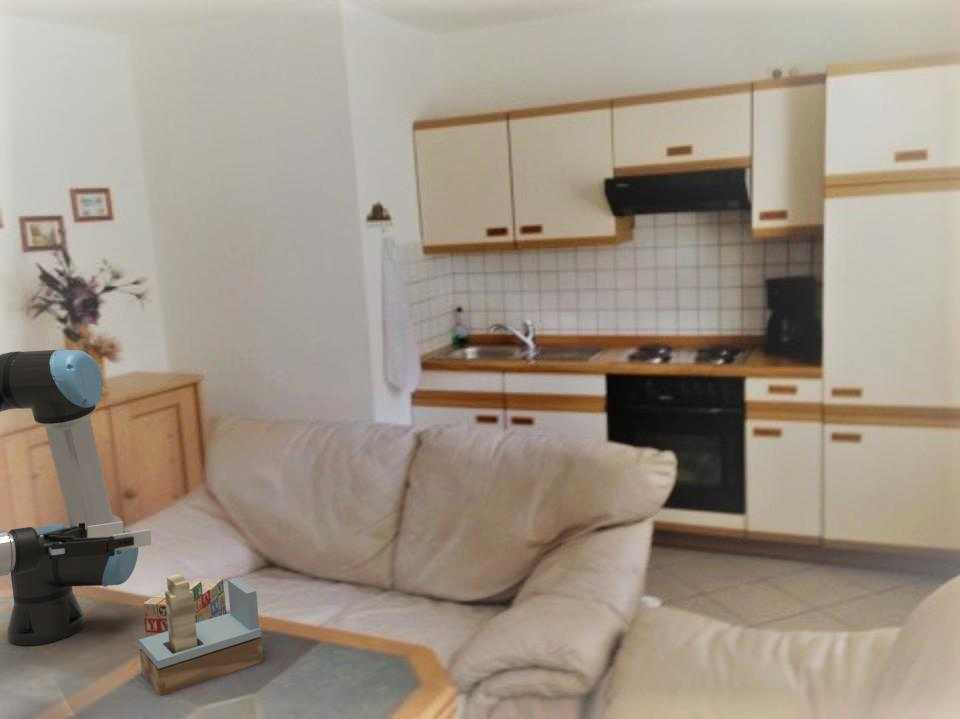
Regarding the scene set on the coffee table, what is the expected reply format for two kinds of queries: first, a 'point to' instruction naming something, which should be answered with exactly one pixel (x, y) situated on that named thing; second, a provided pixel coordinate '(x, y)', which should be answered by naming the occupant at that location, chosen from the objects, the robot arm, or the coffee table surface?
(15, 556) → the robot arm
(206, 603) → the stack of blocks
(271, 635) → the coffee table surface
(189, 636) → the key
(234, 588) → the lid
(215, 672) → the wooden box
